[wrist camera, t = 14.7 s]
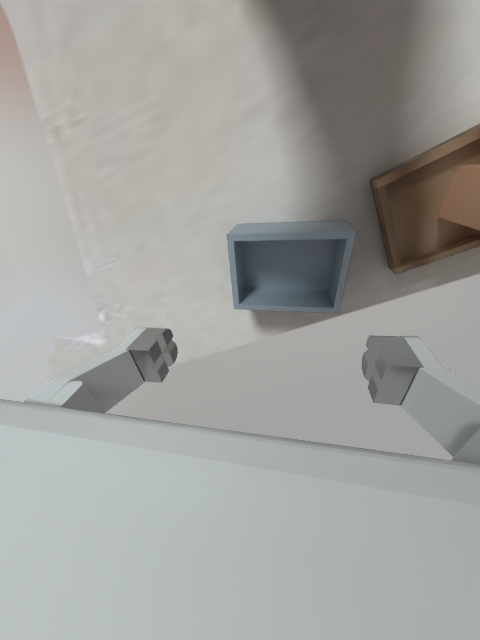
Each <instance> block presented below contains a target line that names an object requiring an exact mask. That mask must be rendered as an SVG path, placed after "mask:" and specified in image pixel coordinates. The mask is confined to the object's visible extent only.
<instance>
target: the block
mask: <svg viewBox="0 0 480 640" xmlns="http://www.w3.org/2000/svg"><path fill="white" fill-rule="evenodd" d="M438 217H439V218H442V219H445V220H448V221H452V222H455V223H458V224H461V225H464V226H467V227H470V228H474V229H477V230H480V165H467V166H458V167H457V170H456V172H455V175H454V178H453V180H452V183H451V185H450V188H449V190H448V193H447V195H446V198H445V200H444V203H443V205H442V208H441V211H440V213H439V216H438Z"/></svg>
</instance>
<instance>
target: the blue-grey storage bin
mask: <svg viewBox="0 0 480 640" xmlns="http://www.w3.org/2000/svg"><path fill="white" fill-rule="evenodd" d="M355 235H356V230H355V229H354V228H353V227H352V226H351V225H350V224H348V223H347V222H346V221H345V220H334V221H307V222H280V223H254V224H237V225H236V226H235V227H234V228H233V229H232V230H231V231H230V232H229V233H228V234H227V241H228V251H229V262H230V272H231V282H232V292H233V303H234V309H245V310H268V311H292V312H315V313H338V314H339V310H340V306H341V301H342V296H343V292H344V287H345V282H346V278H347V273H348V268H349V263H350V259H351V254H352V249H353V245H354V240H355Z"/></svg>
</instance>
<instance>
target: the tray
mask: <svg viewBox="0 0 480 640" xmlns="http://www.w3.org/2000/svg"><path fill="white" fill-rule="evenodd" d="M467 165H480V124H478V125H476V126H474V127H472V128H470V129H468V130H466V131H465V132H463V133H461V134H459V135H457V136H455V137H453V138H451V139H449V140H447V141H445V142H443V143H441V144H439V145H437V146H435V147H434V148H432V149H430V150H428V151H426V152H424V153H422V154H420V155H418V156H416V157H414V158H412V159H410V160H408V161H406V162H404V163H403V164H401V165H399V166H397V167H395V168H393V169H391V170H389V171H387V172H385V173H383V174H381V175H379V176H377V177H375V178H373V179H372V180H370V183H371V188H372V192H373V197H374V201H375V206H376V211H377V215H378V220H379V224H380V229H381V233H382V238H383V242H384V247H385V251H386V256H387V260H388V265H389V268H390V269H391V270H392V271H393V272H394V273H395V274H398V273H401V272H404V271H407V270H410V269H413V268H416V267H419V266H422V265H425V264H428V263H431V262H434V261H437V260H440V259H443V258H446V257H449V256H452V255H454V254H457V253H460V252H463V251H466V250H469V249H472V248H475V247H478V246H480V230H477V229H474V228H470V227H467V226H464V225H461V224H458V223H455V222H452V221H448V220H445V219H442V218H439V217H438V216H439V213H440V211H441V208H442V205H443V203H444V200H445V198H446V195H447V193H448V190H449V188H450V185H451V183H452V180H453V178H454V175H455V172H456V170H457V167H458V166H467Z"/></svg>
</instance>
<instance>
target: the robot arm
mask: <svg viewBox="0 0 480 640" xmlns="http://www.w3.org/2000/svg"><path fill="white" fill-rule="evenodd" d="M172 338H173V334H172V332H171V330H170V329H165V328H147V327H139V328H136V329H135V330H134V331H133V332H132V333H131V334H130V335H129V336H128V337H127V338H126V339H125V340H124V341H123V342H122V343H121V344H120V345H119V346H118V347H117V348H116V349H111V350H109V351H107V352H105V353H103V354H101V355H99V356H97V357H94V358H92V359H90V360H88V361H86V362H84V363H82V364H80V365H78V366H75V367H73V368H71V369H69V370H67V371H65V372H63V373H61V374H59V375H56V376H54V377H52V378H51V379H50V380H49V381H48V382H46V383H45V384H44V385H43V386H42V387H40V388H39V389H38V390H37V391H36V392H35V393H33V394H32V395H31V396H30V397H29V398H28V399H27V400H25V401H24V402H18V401H11V400H3V399H0V640H480V386H479V385H478V384H476V383H474V382H472V381H470V380H468V379H467V378H465V377H463V376H461V375H459V374H457V373H456V372H454V371H452V370H449V369H444V368H443V366H442V365H441V364H440V363H439V361H438V360H437V359H436V357H435V356H434V355H433V353H432V352H431V351H430V350H429V348H428V347H427V346H426V345H425V343H424V342H423V341H422V339H421V338H419V337H417V336H400V337H395V336H369V338H368V339H367V343H366V345H367V348H368V350H367V351H366V352H365V353H364V354H363V358H362V370H363V374H364V377H365V378H366V379H367V380H368V381H369V386H368V389H369V391H370V394H371V397H372V399H373V402H375V403H383V404H392V405H400V406H401V408H403V409H404V410H405V411H406V412H407V413H408V414H409V415H410V416H411V417H412V418H413V419H414V420H415V421H416V422H417V423H418V424H419V425H420V426H421V427H422V428H423V429H425V430H426V431H427V432H428V433H429V434H430V435H431V436H432V437H433V438H434V439H435V440H436V441H437V442H438V443H440V445H441V446H442V447H443V448H444V449H445V450H447V451H448V452H449V453H450V454H451V455H452V456H453V457H454V458H453V459H452V460H443V459H436V458H428V457H420V456H414V455H407V454H399V453H392V452H385V451H378V450H370V449H363V448H355V447H348V446H341V445H333V444H326V443H318V442H311V441H303V440H296V439H289V438H281V437H274V436H267V435H259V434H252V433H245V432H237V431H230V430H223V429H216V428H208V427H201V426H194V425H187V424H179V423H172V422H164V421H157V420H150V419H142V418H135V417H128V416H121V415H113V414H106V413H105V412H107V411H108V410H109V409H110V408H112V407H113V406H114V405H116V404H117V403H118V402H120V401H121V400H122V399H124V398H125V397H126V396H127V395H129V394H130V393H131V392H133V391H134V390H135V389H137V388H138V387H139V386H140V385H142V384H143V383H144V381H145V382H161V383H162V382H163V380H164V378H165V377H166V375H167V373H168V372H169V369H168V367H169V366H171V365H172V364H174V362H175V360H176V358H177V353H178V352H177V346H176V344H175V343H174V342H173V341H172Z"/></svg>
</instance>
